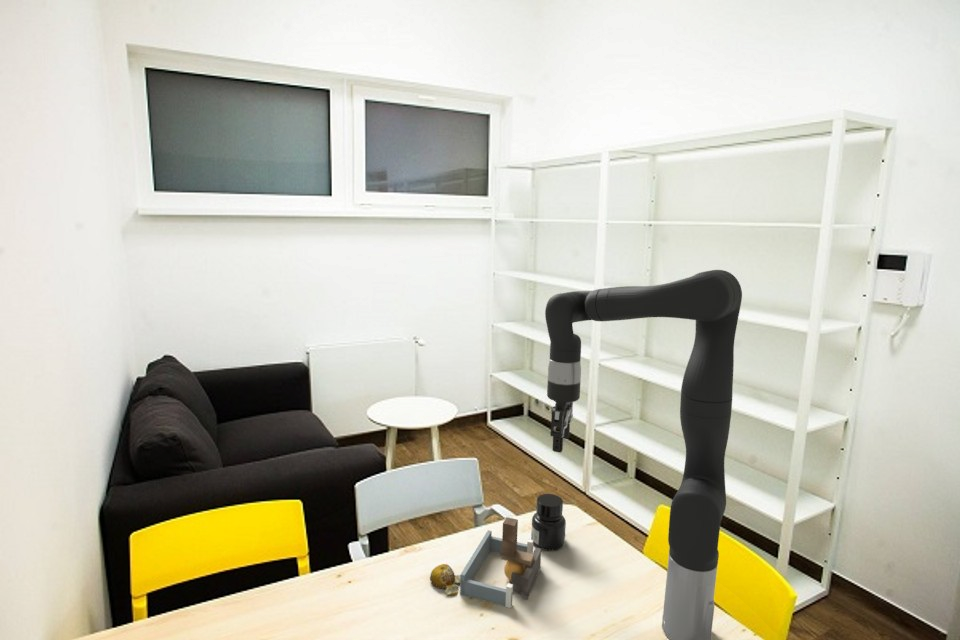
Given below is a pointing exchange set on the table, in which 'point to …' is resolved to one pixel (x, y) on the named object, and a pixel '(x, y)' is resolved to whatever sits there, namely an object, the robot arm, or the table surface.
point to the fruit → (445, 579)
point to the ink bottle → (548, 523)
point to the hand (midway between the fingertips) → (561, 444)
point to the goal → (474, 564)
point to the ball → (513, 569)
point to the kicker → (519, 559)
